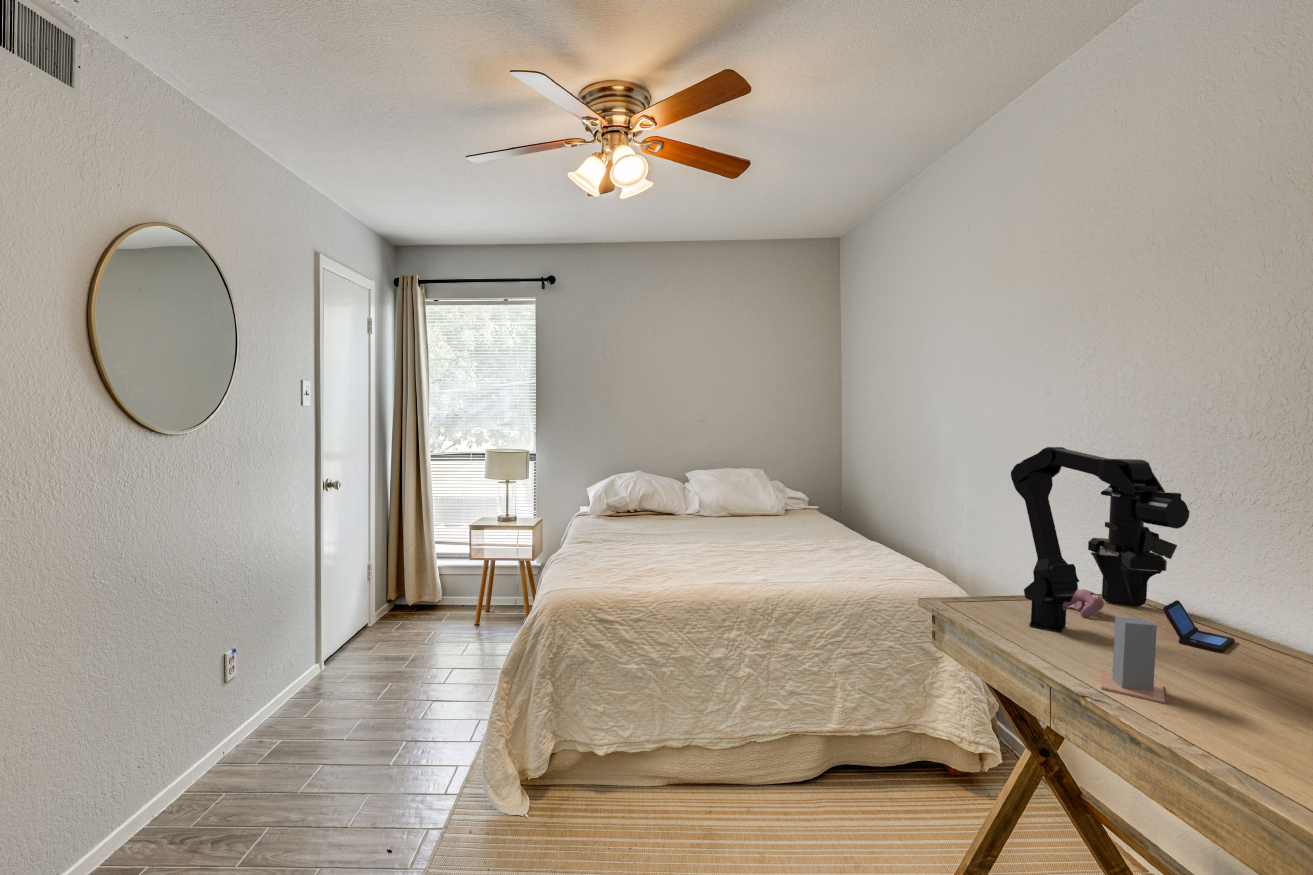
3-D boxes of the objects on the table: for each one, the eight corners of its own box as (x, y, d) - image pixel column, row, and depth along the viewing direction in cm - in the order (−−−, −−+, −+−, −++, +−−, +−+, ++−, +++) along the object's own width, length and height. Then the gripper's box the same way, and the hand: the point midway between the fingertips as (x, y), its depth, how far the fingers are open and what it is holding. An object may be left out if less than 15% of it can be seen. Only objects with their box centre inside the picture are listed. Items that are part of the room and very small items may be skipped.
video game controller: (1097, 624, 155) (1111, 600, 155) (1081, 616, 155) (1095, 591, 155) (1070, 612, 165) (1083, 589, 165) (1055, 604, 165) (1068, 581, 165)
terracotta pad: (1101, 688, 114) (1101, 686, 114) (1102, 673, 121) (1102, 671, 121) (1164, 703, 108) (1164, 701, 108) (1162, 686, 116) (1162, 684, 116)
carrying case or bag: (1148, 606, 166) (1151, 551, 166) (1152, 609, 164) (1154, 554, 163) (1100, 600, 171) (1103, 547, 170) (1102, 603, 168) (1105, 549, 168)
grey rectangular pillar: (1112, 680, 117) (1115, 616, 117) (1142, 682, 116) (1145, 619, 116) (1122, 687, 114) (1125, 622, 113) (1153, 690, 113) (1156, 625, 112)
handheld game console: (1222, 655, 133) (1224, 620, 133) (1159, 640, 141) (1161, 607, 141) (1236, 643, 140) (1238, 610, 140) (1175, 629, 149) (1177, 598, 149)
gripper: (1200, 530, 119) (1195, 611, 119) (1145, 515, 137) (1142, 585, 137) (1133, 526, 121) (1129, 606, 121) (1088, 512, 139) (1085, 581, 140)
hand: (1122, 594), depth 130 cm, fingers open, 9 cm apart
